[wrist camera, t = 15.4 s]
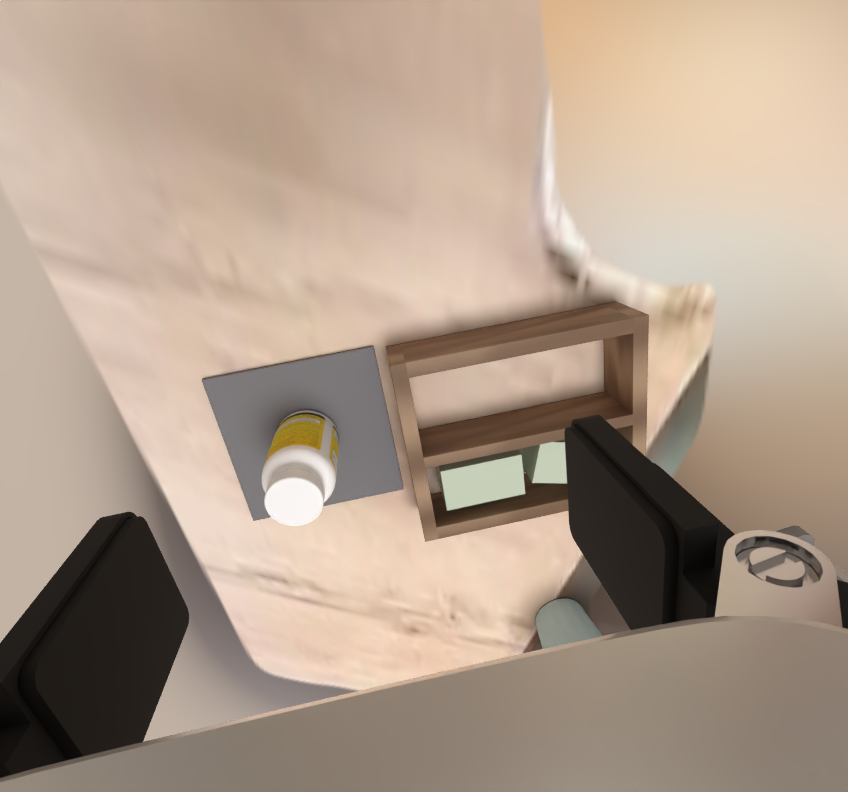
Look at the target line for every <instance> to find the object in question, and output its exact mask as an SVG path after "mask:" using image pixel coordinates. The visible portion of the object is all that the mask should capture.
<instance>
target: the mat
mask: <svg viewBox="0 0 848 792" xmlns="http://www.w3.org/2000/svg"><path fill="white" fill-rule="evenodd" d="M202 382H203V385H204V388H205V390H206V393H207V396H208V398H209V401H210V404H211V407H212V409H213V412H214V415H215V417H216V420H217V423H218V426H219V428H220V431H221V434H222V436H223V439H224V442H225V445H226V447H227V450H228V453H229V455H230V458H231V461H232V464H233V466H234V469H235V472H236V474H237V477H238V480H239V483H240V485H241V488H242V491H243V493H244V496H245V499H246V502H247V504H248V507H249V510H250V512H251V515H252V518H253V521H255V520H260V519H265V518H269V517H271V516H270V515H269V514H268V512H267V510H266V508H265V504H264V498H265V494H266V493H265V491H264V489H263V486H262V472H263V467H264V464H265V462H266V459H267V456H268V453H269V450H270V447H271V444H272V441H273V438H274V435H275V432H276V430H277V428H278V426H279V425H280V423H281V422H282V421H283V420H284V419H285V418H286V417H287V416H289V415H290V414H292V413H295V412H298V411H304V410H309V411H315V412H319V413H321V414H323V415H325V416H327V417H328V418H329V419H330V420H331V421H332V422H333V423H334V424H335V426H336V428H337V430H338V434H339V452H338V463H337V475H336V483H335V487H334V490H333V492H332V494H331V496H330V497H329V498H328V499H327V500H326V501H325V502H324V504H323V506H326V505H331V504H335V503H340V502H345V501H350V500H354V499H359V498H364V497H369V496H373V495H378V494H383V493H387V492H392V491H397V490H402V489H404V488H403V483H402V478H401V474H400V469H399V464H398V460H397V455H396V450H395V445H394V441H393V436H392V431H391V427H390V422H389V417H388V413H387V408H386V403H385V398H384V394H383V389H382V384H381V380H380V375H379V370H378V366H377V361H376V356H375V351H374V347H373V346H369V347H364V348H359V349H354V350H348V351H343V352H338V353H333V354H328V355H323V356H318V357H313V358H307V359H302V360H297V361H292V362H287V363H282V364H277V365H271V366H266V367H261V368H256V369H251V370H246V371H241V372H235V373H230V374H225V375H220V376H215V377H210V378H205V379H203V380H202Z"/></svg>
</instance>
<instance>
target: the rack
mask: <svg viewBox="0 0 848 792" xmlns="http://www.w3.org/2000/svg"><path fill="white" fill-rule="evenodd" d="M648 327H649V315H647V314H645V313H643V312H640V311H638V310H635V309H633V308H631V307H628V306H626V305H623V304H621V303H618V302H613V303H608V304H603V305H598V306H592V307H587V308H582V309H577V310H572V311H567V312H562V313H557V314H551V315H546V316H541V317H536V318H531V319H526V320H521V321H516V322H510V323H505V324H500V325H495V326H490V327H485V328H480V329H474V330H469V331H464V332H459V333H454V334H449V335H444V336H439V337H433V338H428V339H423V340H418V341H413V342H408V343H403V344H398V345H392V346H387V347H386V350H387V355H388V360H389V365H390V370H391V375H392V380H393V385H394V390H395V395H396V400H397V405H398V410H399V415H400V420H401V425H402V430H403V435H404V440H405V444H406V449H407V454H408V459H409V464H410V469H411V474H412V479H413V484H414V489H415V494H416V499H417V504H418V509H419V514H420V519H421V524H422V528H423V533H424V538H425V542H426V541H431V540H435V539H440V538H444V537H449V536H454V535H458V534H463V533H467V532H472V531H477V530H481V529H486V528H490V527H495V526H500V525H504V524H509V523H513V522H518V521H522V520H527V519H532V518H536V517H541V516H545V515H550V514H555V513H559V512H564V511H568V510H569V509H568V491H567V483H532V482H531V480H530V478H529V477H528V475H527V474H525V475H524V484H525V494H522V495H518V496H513V497H509V498H504V499H499V500H495V501H490V502H485V503H481V504H476V505H472V506H467V507H462V508H458V509H453V510H448V511H447V508H446V505H445V502H444V498H443V495H442V492H441V493H436V494H431V495H430V490H429V485H428V479H427V474H426V468H431V467H435V466H440V465H445V464H450V463H455V462H459V461H464V460H469V459H474V458H478V457H483V456H488V455H493V454H497V453H502V452H507V451H512V450H517V449H521V448H526V447H531V446H536V445H540V444H545V443H550V442H555V441H559V440H564V439H565V436H564V433H565V429H566V428H567V427H571V424H572V421H573V420H574V419H579V418H584V417H589V416H593V415H600V416H601V417H603V418H604V419H605V420H606V421H607V422H608V423H609V424H610V425H611V426H612V427H614V428H615V429H616V430H617V431H618V432H619V433H620V434H621V435H622V436H623V437H625V438H626V439H627V440H628V441H629V442H630V443H631V444H632V445H633V446H634V447H636V448H637V449H638V450H639V451H640V452H641V453H642V454H643V455H644V456H645V457H646V427H647V377H648ZM602 339H604V380H605V392H602V393H597V394H592V395H588V396H583V397H578V398H573V399H568V400H563V401H558V402H553V403H549V404H544V405H539V406H534V407H529V408H524V409H519V410H514V411H510V412H505V413H500V414H495V415H490V416H485V417H480V418H475V419H471V420H466V421H461V422H456V423H451V424H446V425H441V426H436V427H432V428H427V429H422V430H418V426H417V421H416V415H415V410H414V405H413V399H412V394H411V389H410V384H409V378H411V377H416V376H421V375H426V374H431V373H436V372H441V371H446V370H451V369H456V368H461V367H466V366H471V365H476V364H481V363H486V362H491V361H496V360H501V359H506V358H511V357H516V356H521V355H526V354H531V353H536V352H541V351H546V350H551V349H556V348H561V347H566V346H571V345H576V344H581V343H586V342H591V341H597V340H602Z"/></svg>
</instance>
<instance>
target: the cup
mask: <svg viewBox="0 0 848 792" xmlns="http://www.w3.org/2000/svg"><path fill="white" fill-rule="evenodd" d="M536 627H537V631H538V634H539V638H540V641H541V645H542V649H545V648H550V647H554V646H559V645H563V644H568V643H573V642H578V641H582V640H587V639H591V638H596V637H600V636H602V634H601V633H600V632H599V630H598V629H597V627H596V626H595V625H594V623H593V622H592V620H591V619H590V618H589V616H588V615H587V614H586V612H585V611H584V609H583V608H582V607H581V605H580V604H578V603H577V602H576V601H575V600H572V599H567V598H562V599H556V600H553V601H551V602H549V603H547V604H546V605H544V606H543V607H542V608H541V609H540V611H539V612H538V614H537V616H536Z"/></svg>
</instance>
